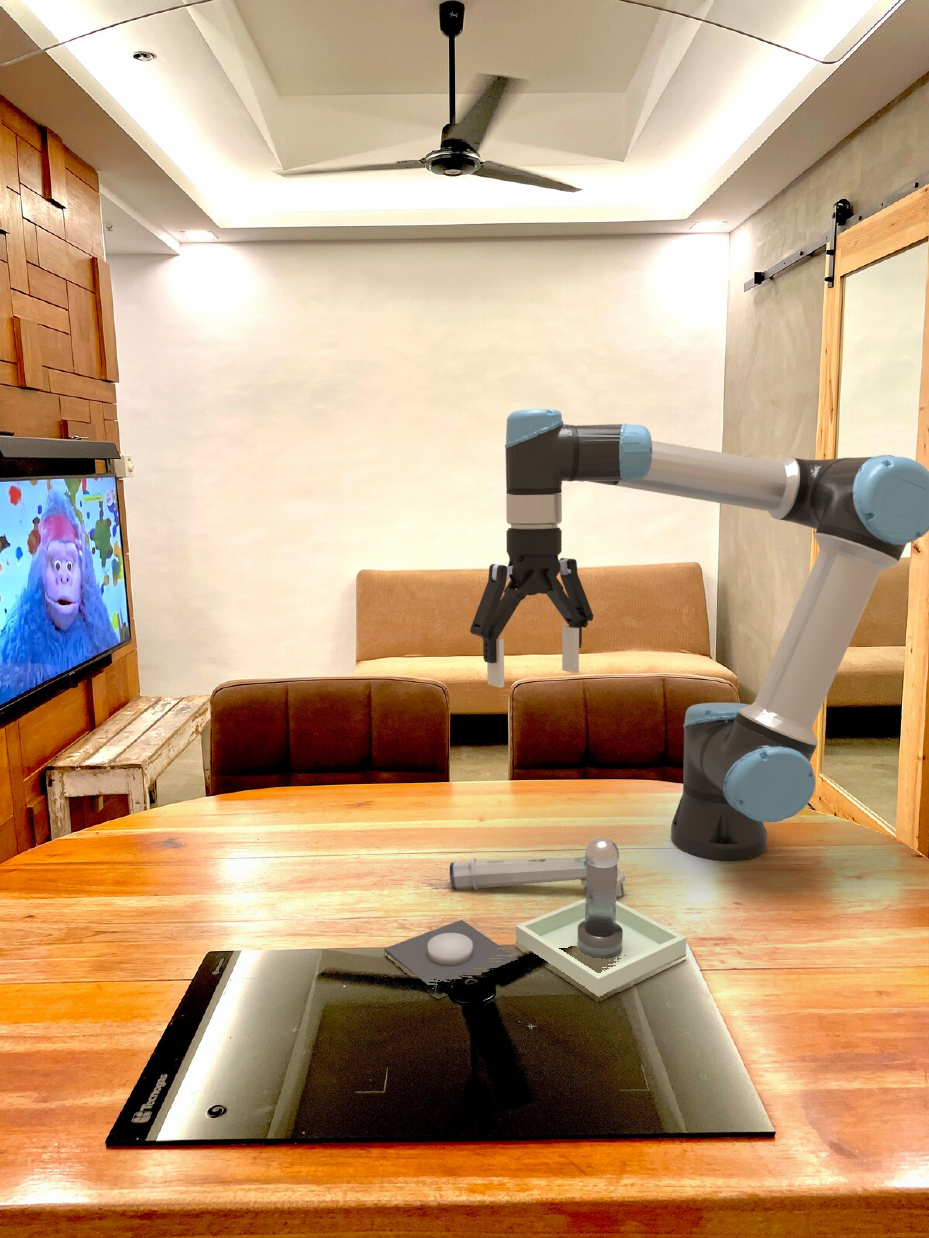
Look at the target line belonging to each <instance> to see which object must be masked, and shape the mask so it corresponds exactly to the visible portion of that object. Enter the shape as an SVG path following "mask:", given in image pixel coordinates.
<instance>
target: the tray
mask: <svg viewBox="0 0 929 1238" xmlns="http://www.w3.org/2000/svg"><path fill="white" fill-rule="evenodd" d="M585 900H586V897H585V898H583V899H580V900H578V901H575V902H573V903H570V904H567V905H565V906H562V907H560V908H557V909H554V910H552V911H550V912H547V913H545V914H542V915H539V916H537V917H535V918H532V919H529V920H527V921H524V922H522V923H519V924H517V925H515V945H516V944H518V945H520V946H522V947H524V948H527V949H528V950H529V951H532V952H533V953H534V954H536V955H538V956H539V957H540V958H542V959H544V960H545V961H547V962H548V963H549V964H551V965H553V966H555V967H556V968H558V969H559V970H561V972H564V973H565V974H566V975H568V976H570V977H571V978H572V979H574V980H575V981H576V982H578V983H579V984H581V985H583V986H585V988H587V989H588V990H589V991H590V992H592V993H594V994H595V995H596V996H598V997H600V996H603V995H604V994H606V993H607V992H610V991H612V990H613V989H616V988H619V987H621V986H623V985H626V984H628V983H630V982H633V981H634V980H636V979H639V978H640V977H642V976H643V975H647V974H648V973H650V972H654V971H655V970H657V969H659V968H662V967H663V966H666V965H669V964H671V963H672V962H674V961H677V960H679V959H681V958H683V957H685V956H686V957H687V937H686V936H684V935H682V934H681V933H678V932H677V931H675V930H673V929H671V928H669V927H667V926H665V925H663V924H661V923H660V922H658V921H656V920H654V919H652V918H650V917H648V916H646V915H645V914H643V913H641V912H639V911H637V910H635V909H633V908H632V907H630V906H628V905H626V904H624V903H621V902H620V901H618V900H616V923H617V924H618V925H619V926H620V927H621V928H622V930H623V938H622V952H621V953H620V954H619V955H621V956H619V958H621V959H619V960H617V957H618V956H617V957H614V958H616V959H615V960H614V961H616V963H613V964H608V965H616V966H613V967H608V968H609V969H607V970H605V969H604V970H605V971H604V970H602V972H601V973H597V972H595V971H594V970H592V969H591V968H589V967H588V966H586V965H584V964H583V963H581V962H580V961H578V960H577V959H575V958H574V957H572V956H570V955H569V954H567V953H566V952H564V951H563V950H561V949H559V948H568V947H570V946H577V938H578V925H579V924H580V923H581V922H583V921H585ZM624 955H626V956H624ZM609 961H610V960H609ZM617 961H619V962H617ZM602 968H607V967H602Z"/></svg>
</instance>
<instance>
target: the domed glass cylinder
mask: <svg viewBox="0 0 929 1238" xmlns="http://www.w3.org/2000/svg"><path fill="white" fill-rule="evenodd" d="M584 857H585V858H586V894H585V898H586V900H585V921H583V922H581V923H580V924H579V925H578V938H577V947H578V949H579V950H580V951H581V952H582V953H584V954H586V955H589V956H591V957H592V958H601V959H603V958H605V959H609V958H614V957H616V956H618V955H619V954H620V953H621V952H622V938H623V930H622V928H621V927H620V926H619V925H618V924H617V923H616V901H617V897H616V892H617V868H618V862H619V858H620V851H619V848H618V846H617V844H616V843H615V842H614V841H613V840H611V839H610V838H608V837H605V836H598V837H595V838H593V839H591V840H590V841H589V842H588V843H587V845H586V847H585V850H584Z"/></svg>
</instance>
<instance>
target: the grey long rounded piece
mask: <svg viewBox="0 0 929 1238" xmlns="http://www.w3.org/2000/svg"><path fill="white" fill-rule="evenodd" d="M449 880H450V881H449V882H450V887H451V889H452V890H453V891H454V890H474V891H479V889H486V888H497V887H498V888H499V887H507V886H508V887H509V886H520V885H533V884H542V883H544V884H545V883H554V882H565V881H566V882H567V881H578V880H580V884H581V885H582V886H584V891H585V895H586V858H585V856H584V857H555V858H554V857H553V858H552V857H551V858H548V857H547V858H519V859H518V858H517V859H516V858H515V859H514V858H511V859H510V858H509V859H479V860H478V859H476V857H472V859H471V860H465V861H463V860H462V861H452V862H450V864H449ZM625 881H626V876H625V871H623V870H622V869H621V868H620V869H619V868H618V867H617V892H616V898H620V897H621V896H622V895H624V893H625V891H624V882H625Z"/></svg>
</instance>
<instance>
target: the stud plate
mask: <svg viewBox="0 0 929 1238" xmlns="http://www.w3.org/2000/svg"><path fill="white" fill-rule="evenodd" d="M497 948H503V947H502V946H501V945H500V944H498V943H496V942H495V941H493V940H492V939H491V938H489V937H487V936H486V935H485V934H484V933H482V932H481V931H480V930H478V929H476V928H475V927H473V926H472V925H470V924H469V923H467V922H466V921H465V920H463V919H460V920H457V921H455V922H451V923H449V924H446V925H443V926H441V927H438V928H435V929H433V930H430V931H427V932H425V933H422V934H419V935H417V936H414V937H412V938H408V939H406V940H403V941H401V942H397V943H395V944H393V945H390V946H387V947H384V953H385V952H386V953H387V955H390V956H391V957H392V958H394V960H396V961H398V962H399V963H400V964H401V965H403V966H404V967H405V968H407V969H408V970H409V971H410V972H412V973H413V974H414V975H416V976H417V977H418V978H419V979H421V980H422V981H423V982H425V983H426V984H427V985H438V984H435V983H429V982H441V981H444V982H450V981H447V980H445V979H454V980H455V979H462V978H461V977H459V976H458V975H481V974H482V973H476V974H475V973H473V972H484V973H485V972H488V971H490V970H487V969H485V970H478V969H474V968H498V967H500V966H502V965H505V964H507V963H510V962H511V961H515V960H518V961H519V958H518V957H517V956H515V955H514V956H513V957H510V956H504V955H510V954H511V955H513V954H512V953H510V952H509V951H508V952H506V951H507V949H505V950H502V949H497ZM493 955H494V956H493ZM496 955H503V956H496ZM489 958H502V959H489ZM489 961H501V962H489ZM490 965H491V966H490ZM492 970H493V969H492ZM448 972H451V973H448ZM459 972H469V973H459ZM451 975H457V976H451ZM462 977H468V978H473V977H472V976H462ZM434 979H437V980H434ZM438 980H440V981H438ZM434 987H435V986H434ZM432 989H434V988H432Z"/></svg>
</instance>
